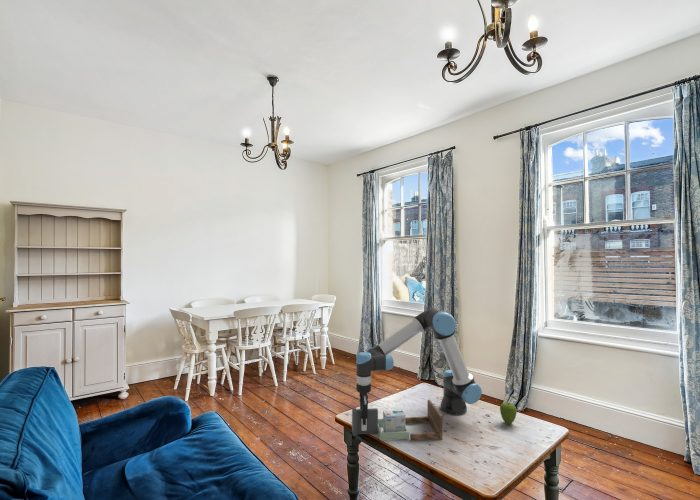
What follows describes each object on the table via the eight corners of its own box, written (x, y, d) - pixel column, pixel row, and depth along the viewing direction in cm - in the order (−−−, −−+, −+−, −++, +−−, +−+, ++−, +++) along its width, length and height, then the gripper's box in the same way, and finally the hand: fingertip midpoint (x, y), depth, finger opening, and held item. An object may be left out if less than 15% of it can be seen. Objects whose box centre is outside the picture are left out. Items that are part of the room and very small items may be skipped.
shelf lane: (429, 421, 200) (429, 399, 200) (442, 439, 181) (442, 415, 181) (401, 422, 198) (401, 400, 198) (411, 441, 179) (411, 417, 179)
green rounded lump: (517, 428, 192) (517, 406, 192) (500, 425, 195) (500, 404, 196) (516, 421, 200) (516, 400, 200) (499, 418, 204) (499, 398, 204)
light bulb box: (402, 429, 191) (402, 409, 191) (406, 436, 184) (406, 414, 184) (382, 430, 189) (382, 410, 189) (385, 437, 182) (385, 416, 182)
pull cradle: (401, 424, 196) (401, 401, 196) (409, 438, 181) (409, 414, 181) (350, 426, 193) (350, 403, 193) (354, 441, 178) (354, 417, 178)
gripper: (354, 378, 193) (354, 422, 193) (358, 389, 178) (358, 436, 178) (368, 377, 194) (368, 421, 194) (373, 388, 179) (373, 436, 179)
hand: (363, 428), depth 186 cm, fingers closed on pull cradle, 2 cm apart
